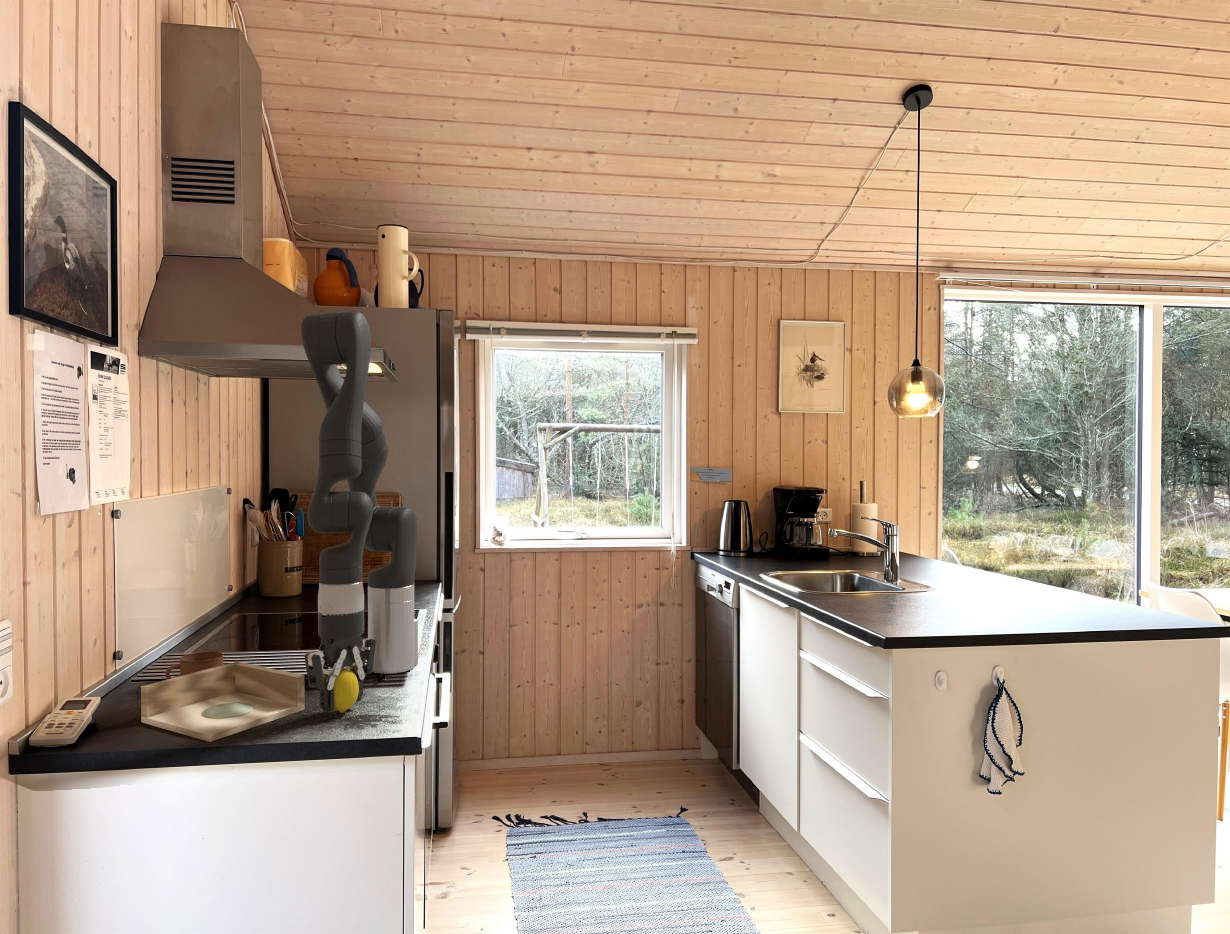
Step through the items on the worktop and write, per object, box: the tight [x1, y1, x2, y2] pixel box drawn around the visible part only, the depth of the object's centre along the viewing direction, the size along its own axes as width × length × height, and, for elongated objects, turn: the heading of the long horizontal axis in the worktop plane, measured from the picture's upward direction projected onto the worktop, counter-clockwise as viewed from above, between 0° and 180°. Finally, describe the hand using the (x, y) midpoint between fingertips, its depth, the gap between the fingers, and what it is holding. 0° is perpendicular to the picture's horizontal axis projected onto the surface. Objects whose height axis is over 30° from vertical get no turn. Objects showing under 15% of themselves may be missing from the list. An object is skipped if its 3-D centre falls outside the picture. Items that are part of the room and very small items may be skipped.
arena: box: [140, 661, 306, 742], centre depth 142 cm, size 18×18×6 cm
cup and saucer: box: [165, 651, 224, 680], centre depth 157 cm, size 12×12×6 cm
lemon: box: [326, 667, 359, 714], centre depth 143 cm, size 6×6×8 cm
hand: (341, 705), depth 143 cm, fingers closed on lemon, 5 cm apart
